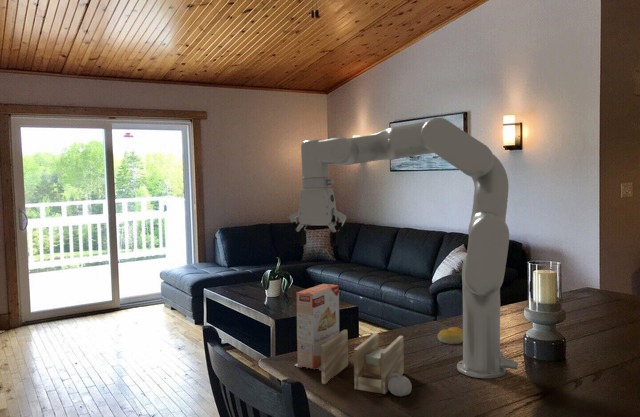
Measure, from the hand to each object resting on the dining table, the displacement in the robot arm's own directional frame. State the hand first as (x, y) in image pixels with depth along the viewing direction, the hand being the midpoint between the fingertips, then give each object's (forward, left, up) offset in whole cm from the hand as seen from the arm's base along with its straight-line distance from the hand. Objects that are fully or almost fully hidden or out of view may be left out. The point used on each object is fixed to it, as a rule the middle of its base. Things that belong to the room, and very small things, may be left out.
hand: (318, 245), depth 156 cm
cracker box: (0, 0, -33) cm, 33 cm away
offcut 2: (-20, +7, -31) cm, 37 cm away
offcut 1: (-20, +7, -28) cm, 35 cm away
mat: (0, 0, -33) cm, 33 cm away
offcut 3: (-20, +8, -34) cm, 40 cm away
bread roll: (-30, -33, -34) cm, 56 cm away
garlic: (-27, +14, -34) cm, 45 cm away
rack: (-16, +7, -33) cm, 37 cm away
